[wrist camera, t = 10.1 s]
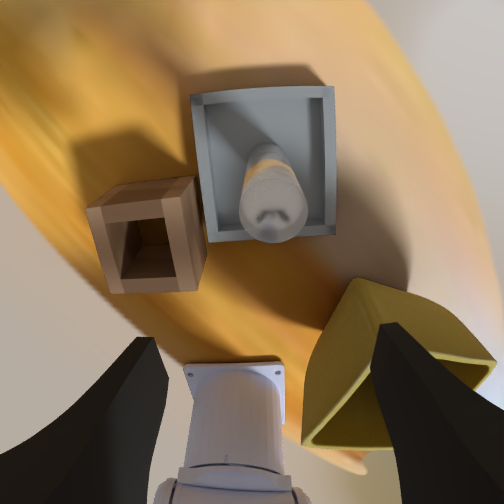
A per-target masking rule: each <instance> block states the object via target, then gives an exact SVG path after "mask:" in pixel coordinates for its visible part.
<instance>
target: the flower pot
mask: <svg viewBox="0 0 504 504" xmlns="http://www.w3.org/2000/svg"><path fill="white" fill-rule="evenodd" d="M392 322H398V323H399V324H400V325H401V326H402V327H403V328H404V329H405V330H406V331H407V332H408V333H409V334H410V335H411V336H412V337H413V338H414V339H415V340H417V341H418V342H419V343H420V344H421V345H422V346H423V347H424V348H425V349H426V350H427V351H428V352H429V353H430V354H431V355H432V356H433V357H434V358H436V359H437V360H438V361H439V362H440V363H441V364H442V365H443V366H444V367H445V368H447V369H448V370H449V371H450V372H451V373H452V374H454V375H455V376H456V377H457V378H458V379H460V380H461V381H462V382H463V383H464V384H466V385H467V386H468V387H470V388H471V389H472V390H474V391H475V390H476V389H477V388H478V387H479V386H480V385H481V384H482V383H483V382H484V381H485V379H486V378H487V377H488V376H489V375H490V374H491V372H492V371H493V369H494V368H495V366H496V364H497V361H496V360H495V359H494V358H493V357H492V356H491V354H490V353H489V352H488V351H487V350H486V349H485V347H484V346H483V345H482V344H481V343H480V342H479V341H478V339H477V338H476V337H475V336H474V335H473V334H472V333H471V332H470V331H469V329H468V328H467V327H466V326H465V325H464V324H463V323H462V322H461V321H460V320H459V319H458V318H457V317H456V316H455V315H454V314H452V313H451V312H450V311H448V310H447V309H446V308H444V307H442V306H441V305H439V304H437V303H435V302H433V301H431V300H429V299H426V298H424V297H421V296H418V295H415V294H412V293H409V292H405V291H402V290H398V289H395V288H392V287H388V286H385V285H382V284H378V283H375V282H372V281H369V280H366V279H363V278H354V279H353V280H352V281H351V282H350V283H349V285H348V287H347V289H346V291H345V293H344V294H343V296H342V298H341V300H340V302H339V304H338V305H337V307H336V309H335V311H334V312H333V314H332V316H331V317H330V319H329V321H328V323H327V324H326V326H325V328H324V330H323V332H322V334H321V335H320V337H319V339H318V341H317V343H316V345H315V347H314V350H313V352H312V355H311V357H310V360H309V363H308V367H307V371H306V376H305V383H304V398H303V416H302V433H301V445H302V446H306V447H312V448H321V449H334V450H394V449H393V446H392V443H391V439H390V436H389V433H388V430H387V427H386V424H385V421H384V418H383V415H382V412H381V409H380V406H379V403H378V400H377V397H376V394H375V390H374V385H373V381H372V376H371V371H370V364H371V360H372V356H373V352H374V348H375V343H376V339H377V335H378V330H379V325H380V324H385V323H392Z"/></svg>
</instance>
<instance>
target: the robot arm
mask: <svg viewBox="0 0 504 504" xmlns="http://www.w3.org/2000/svg"><path fill="white" fill-rule="evenodd" d="M183 371H184V374H185V376H186V379H187V382H188V385H189V388H190V391H191V394H192V396H193V399H194V405H193V411H192V417H191V423H190V429H189V436H188V442H187V448H186V455H185V461H184V468H183V467H180V468H179V472H178V479H175V478H168V479H167V480H166V481H164V482H163V483H161V484H160V485H159V487H158V489H157V491H156V495H155V498H154V503H153V504H311V501H310V499H309V497H308V496H307V495H306V494H305V493H304V492H303V491H302V489H300V488H298V487H292V485H291V476H290V475H284V458H283V439H282V425H284V424H285V384H284V364H283V363H282V362H280V361H274V362H255V363H225V364H186V365H184V368H183ZM370 371H371V376H372V381H373V385H374V390H375V394H376V397H377V400H378V403H379V406H380V409H381V412H382V415H383V418H384V421H385V424H386V427H387V430H388V433H389V436H390V439H391V443H392V446H393V449H394V453H395V457H396V463H397V468H398V474H399V480H400V489H401V497H402V504H504V410H502V409H501V408H499V407H497V406H496V405H494V404H492V403H491V402H489V401H488V400H486V399H485V398H484V397H482V396H481V395H479V394H478V393H476V392H475V391H474V390H472V389H471V388H470V387H468V386H467V385H466V384H464V383H463V382H462V381H461V380H460V379H458V378H457V377H456V376H455V375H454V374H452V373H451V372H450V371H449V370H448V369H447V368H445V367H444V366H443V365H442V364H441V363H440V362H439V361H438V360H437V359H436V358H434V357H433V356H432V355H431V354H430V353H429V352H428V351H427V350H426V349H425V348H424V347H423V346H422V345H421V344H420V343H419V342H418V341H417V340H415V339H414V338H413V337H412V336H411V335H410V334H409V333H408V332H407V331H406V330H405V329H404V328H403V327H402V326H401V325H400V324H399V323H398V322H392V323H385V324H380V325H379V330H378V335H377V339H376V343H375V348H374V352H373V356H372V360H371V364H370ZM168 382H169V377H168V374H167V372H166V369H165V367H164V364H163V361H162V359H161V356H160V353H159V351H158V348H157V345H156V342H155V339H154V337H136V338H135V339H134V341H133V342H132V343H131V344H130V345H129V346H128V347H127V348H126V349H125V350H124V352H123V353H122V354H121V355H120V356H119V357H118V358H117V359H116V360H115V362H114V363H113V364H112V365H111V366H110V367H109V368H108V369H107V370H106V372H105V373H104V374H103V375H102V376H101V377H100V378H99V379H98V380H97V381H96V382H95V383H94V384H93V385H92V386H91V387H90V388H89V389H88V390H87V391H86V392H85V393H84V395H82V396H81V397H80V398H79V399H78V400H77V401H76V402H75V403H74V404H73V405H72V406H71V407H70V408H69V409H68V410H66V411H65V412H64V413H63V414H62V415H60V416H59V417H58V418H57V419H56V420H54V421H53V422H52V423H51V424H49V425H48V426H46V427H45V428H43V429H42V430H41V431H39V432H38V433H36V434H35V435H34V436H32V437H31V438H30V439H28V440H26V441H24V442H23V443H21V444H19V445H17V446H16V447H14V448H12V449H10V450H8V451H6V452H4V453H2V454H0V504H147V491H148V481H149V471H150V465H151V461H152V456H153V452H154V448H155V444H156V440H157V436H158V433H159V429H160V425H161V421H162V417H163V413H164V409H165V405H166V398H167V391H168Z"/></svg>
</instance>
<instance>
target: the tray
mask: <svg viewBox="0 0 504 504" xmlns="http://www.w3.org/2000/svg"><path fill="white" fill-rule="evenodd" d="M190 100H191V110H192V119H193V128H194V136H195V145H196V153H197V161H198V169H199V177H200V185H201V192H202V200H203V207H204V214H205V221H206V228H207V235H208V241H209V242H224V241H239V240H254V239H255V238H254V237H252V236H251V235H250V234H249V233H248V232H247V231H246V230H245V229H244V227H243V225H242V223H241V221H240V217H239V205H240V199H241V194H242V189H243V184H244V179H245V174H246V169H247V164H248V158H249V155H250V153H251V151H252V150H253V148H254V147H256V146H257V145H259V144H262V143H273V144H276V145H278V146H279V147H280V148H281V149H282V150H283V151H284V153H285V155H286V157H287V159H288V161H289V163H290V166H291V168H292V170H293V172H294V174H295V176H296V178H297V181H298V183H299V185H300V187H301V189H302V191H303V194H304V196H305V198H306V201H307V205H308V216H307V220H306V223H305V225H304V227H303V228H302V229H301V231H300V232H299V233H298V234H297V235H296V236H294V237H302V236H319V235H335V230H336V117H335V94H334V86H283V87H262V88H248V89H236V90H226V91H216V92H208V93H200V94H193V95H190Z"/></svg>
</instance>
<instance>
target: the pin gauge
mask: <svg viewBox="0 0 504 504" xmlns="http://www.w3.org/2000/svg"><path fill="white" fill-rule="evenodd" d="M307 216H308V205H307V201H306V198H305V196H304V194H303V191H302V189H301V187H300V185H299V183H298V181H297V178H296V176H295V174H294V172H293V170H292V168H291V166H290V163H289V161H288V159H287V157H286V155H285V153H284V151H283V150H282V149H281V148H280V147H279V146H278V145H276V144H273V143H262V144H259V145H257V146H256V147H254V148H253V150H252V151H251V153H250V155H249V158H248V164H247V169H246V174H245V179H244V184H243V189H242V194H241V199H240V205H239V217H240V221H241V223H242V225H243V227H244V229H245V230H246V231H247V232H248V233H249V234H250V235H251V236H252V237H254V238H255V239H257V240H259V241H262V242H266V243H280V242H284V241H287V240H289V239H291V238H293V237H294V236H296V235H297V234H298V233H299V232H300V231H301V229H302V228H303V227H304V225H305V223H306V220H307Z"/></svg>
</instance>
